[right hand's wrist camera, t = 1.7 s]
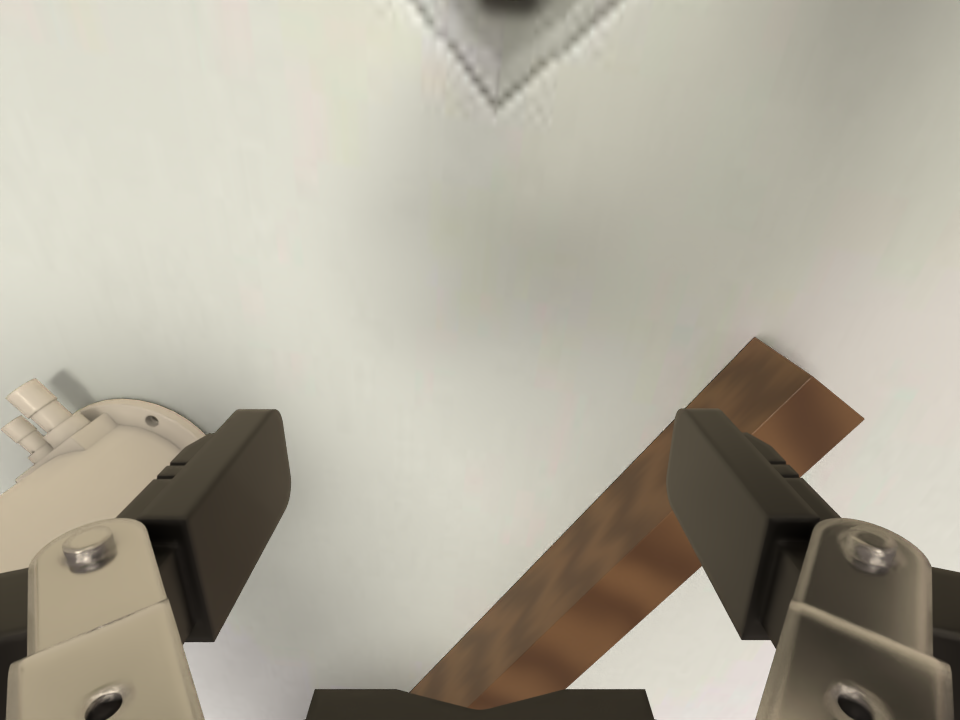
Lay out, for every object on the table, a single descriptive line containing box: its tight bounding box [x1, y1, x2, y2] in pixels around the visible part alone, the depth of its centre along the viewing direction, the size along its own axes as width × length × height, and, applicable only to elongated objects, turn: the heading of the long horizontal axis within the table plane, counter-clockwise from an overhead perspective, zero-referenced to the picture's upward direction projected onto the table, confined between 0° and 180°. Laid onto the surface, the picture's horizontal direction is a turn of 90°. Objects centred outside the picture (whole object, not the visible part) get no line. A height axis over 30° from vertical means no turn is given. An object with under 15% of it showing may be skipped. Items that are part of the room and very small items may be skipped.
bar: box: [410, 337, 864, 710], centre depth 41 cm, size 51×4×7 cm, turn 143°
